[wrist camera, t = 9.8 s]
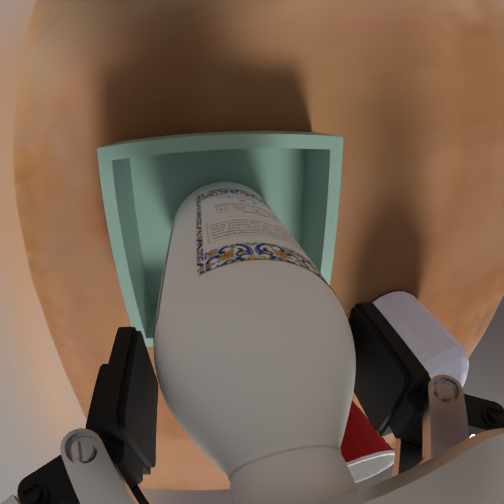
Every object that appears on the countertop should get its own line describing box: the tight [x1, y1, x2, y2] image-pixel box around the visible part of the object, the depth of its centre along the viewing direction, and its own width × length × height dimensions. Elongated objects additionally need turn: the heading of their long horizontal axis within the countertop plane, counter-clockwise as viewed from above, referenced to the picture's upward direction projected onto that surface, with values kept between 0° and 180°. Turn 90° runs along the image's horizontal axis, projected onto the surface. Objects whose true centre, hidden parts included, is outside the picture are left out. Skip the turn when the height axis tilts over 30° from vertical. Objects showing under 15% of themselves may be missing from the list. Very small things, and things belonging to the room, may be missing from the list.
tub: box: [97, 131, 343, 347], centre depth 19 cm, size 14×14×5 cm
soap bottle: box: [372, 291, 469, 387], centre depth 19 cm, size 9×9×25 cm
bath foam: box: [153, 182, 358, 504], centre depth 12 cm, size 7×7×20 cm
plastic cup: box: [340, 401, 395, 483], centre depth 29 cm, size 11×11×12 cm
